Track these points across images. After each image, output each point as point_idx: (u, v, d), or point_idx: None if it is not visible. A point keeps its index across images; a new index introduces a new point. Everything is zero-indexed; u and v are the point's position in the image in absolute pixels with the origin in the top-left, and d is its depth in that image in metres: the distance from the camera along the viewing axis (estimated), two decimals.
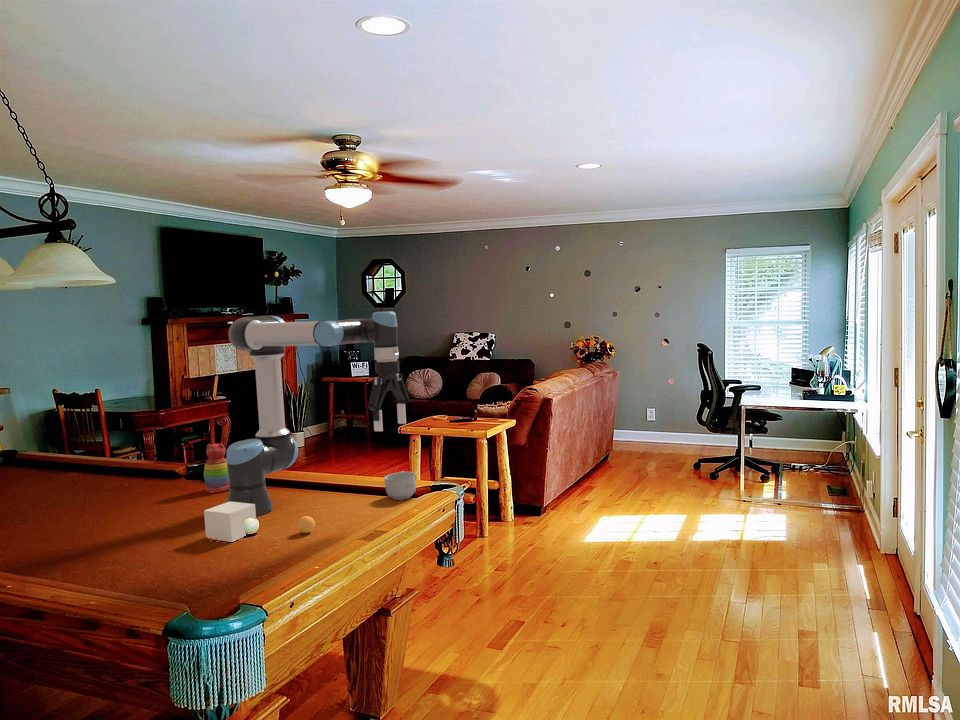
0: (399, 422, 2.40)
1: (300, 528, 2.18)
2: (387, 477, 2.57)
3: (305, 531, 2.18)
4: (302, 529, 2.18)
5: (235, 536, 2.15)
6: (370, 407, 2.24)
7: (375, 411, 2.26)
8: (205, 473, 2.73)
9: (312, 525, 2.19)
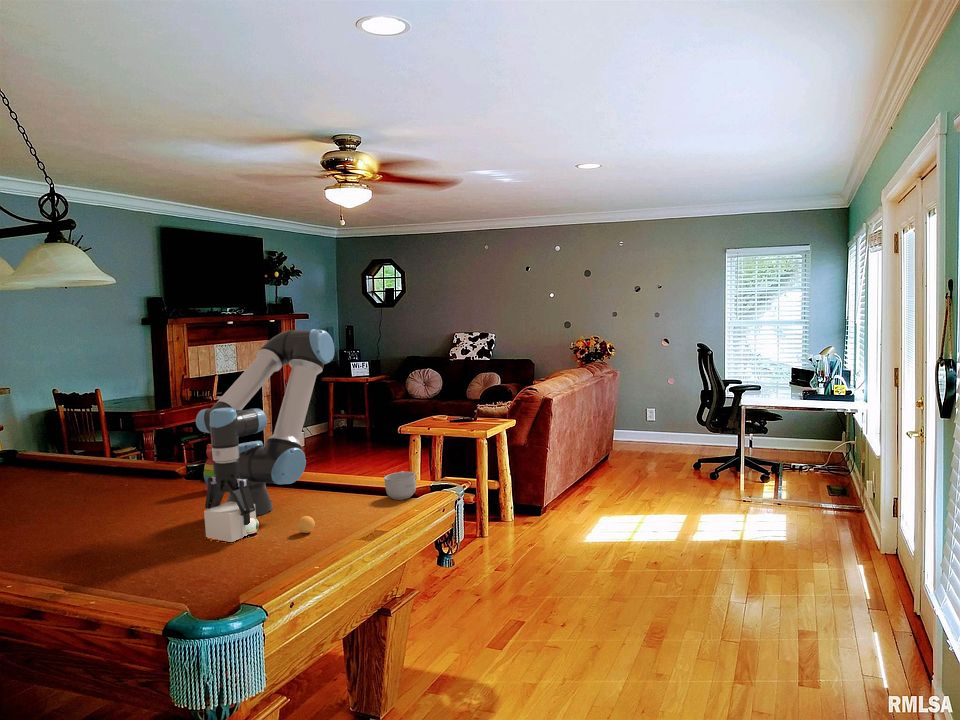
0: None
1: (300, 528, 2.18)
2: (387, 477, 2.57)
3: (305, 531, 2.18)
4: (302, 529, 2.18)
5: (235, 536, 2.15)
6: None
7: None
8: (205, 473, 2.73)
9: (312, 525, 2.19)
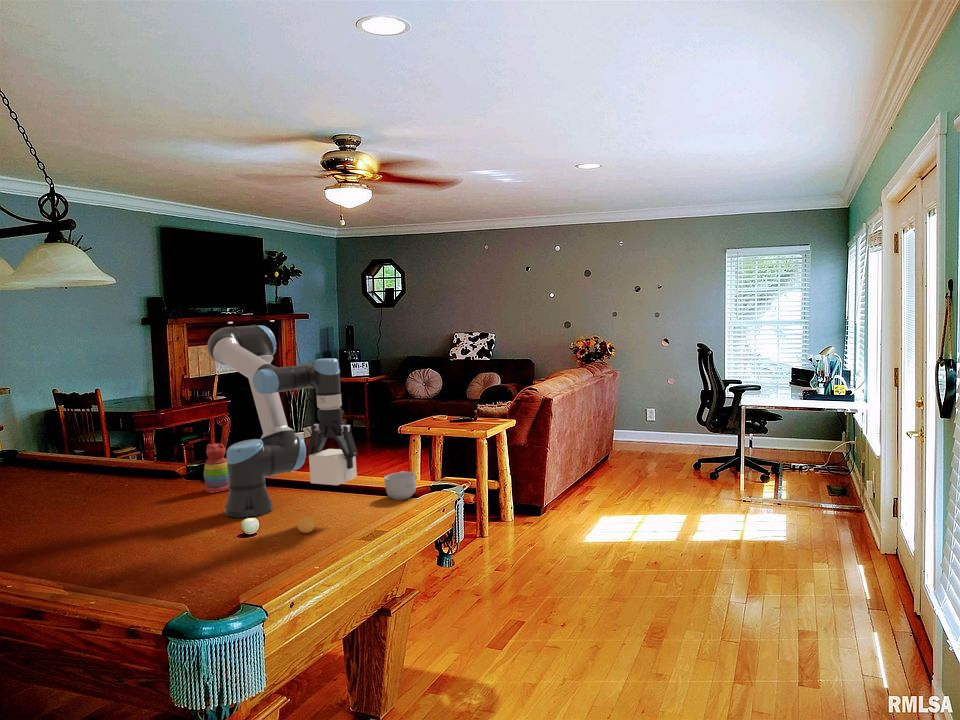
0: None
1: (300, 528, 2.18)
2: (387, 477, 2.57)
3: (305, 531, 2.18)
4: (302, 529, 2.18)
5: (339, 479, 2.26)
6: None
7: None
8: (205, 473, 2.73)
9: (312, 525, 2.19)
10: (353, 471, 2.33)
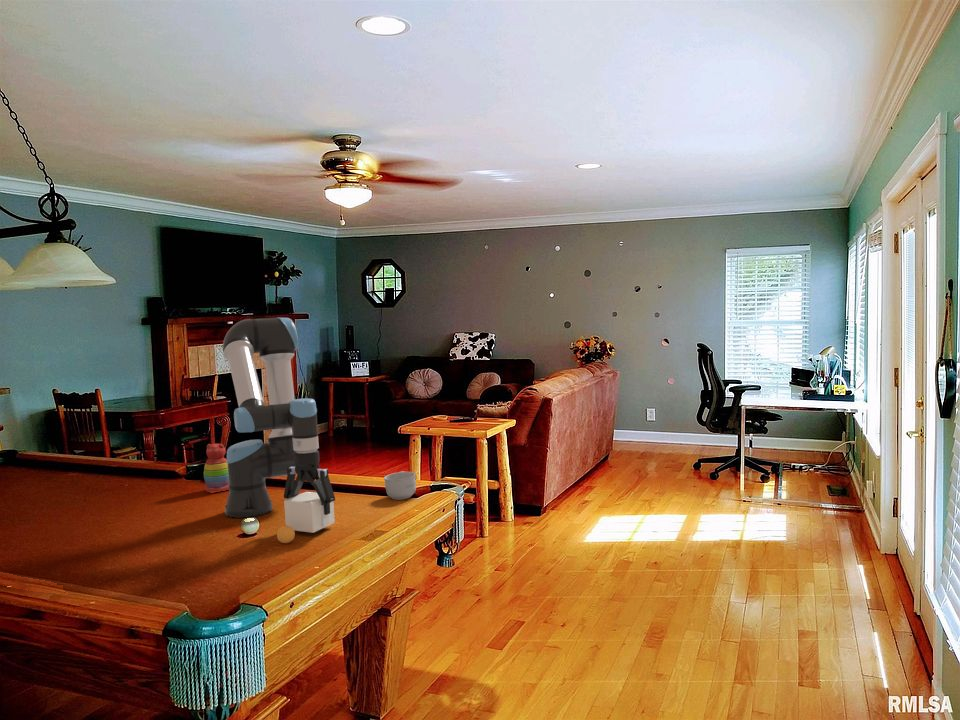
0: None
1: None
2: (387, 477, 2.57)
3: (289, 526, 2.11)
4: None
5: (316, 525, 2.16)
6: None
7: None
8: (205, 473, 2.73)
9: (293, 534, 2.11)
10: (331, 516, 2.23)
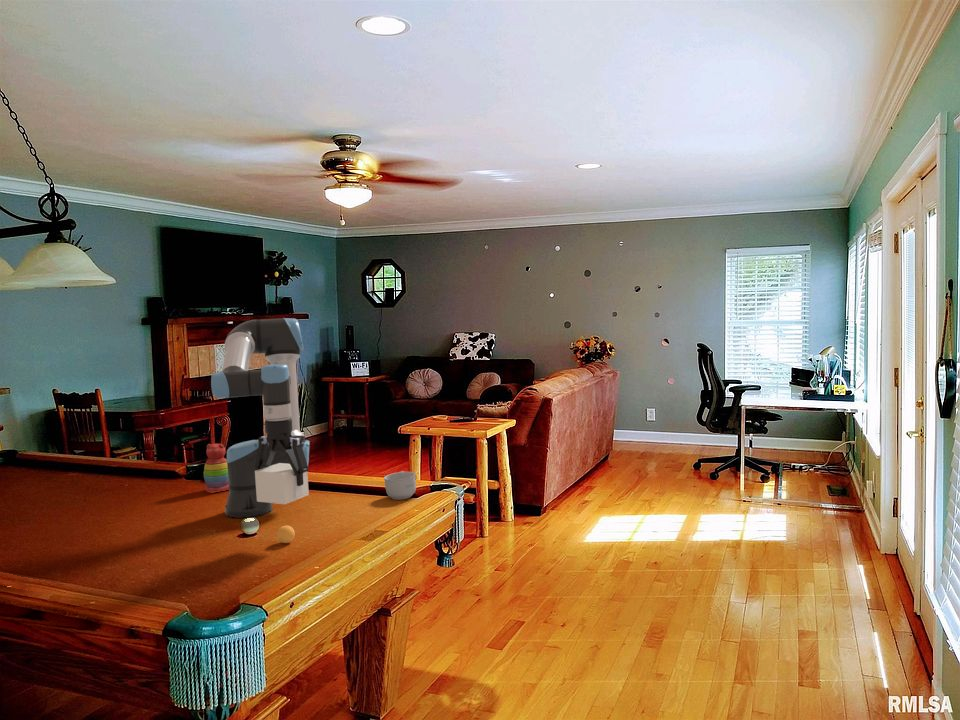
0: None
1: None
2: (387, 477, 2.57)
3: (289, 526, 2.11)
4: None
5: (288, 497, 2.05)
6: None
7: None
8: (205, 473, 2.73)
9: (293, 534, 2.11)
10: (304, 488, 2.12)
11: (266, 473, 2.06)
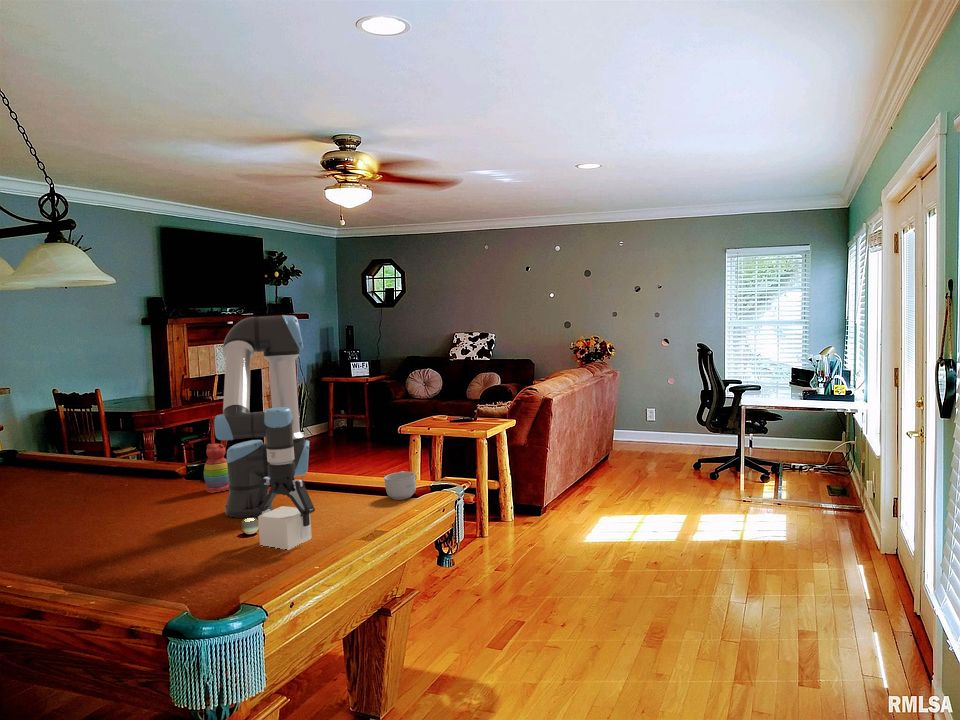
0: None
1: None
2: (387, 477, 2.57)
3: None
4: None
5: (291, 542, 2.06)
6: None
7: None
8: (205, 473, 2.73)
9: None
10: None
11: (269, 518, 2.07)
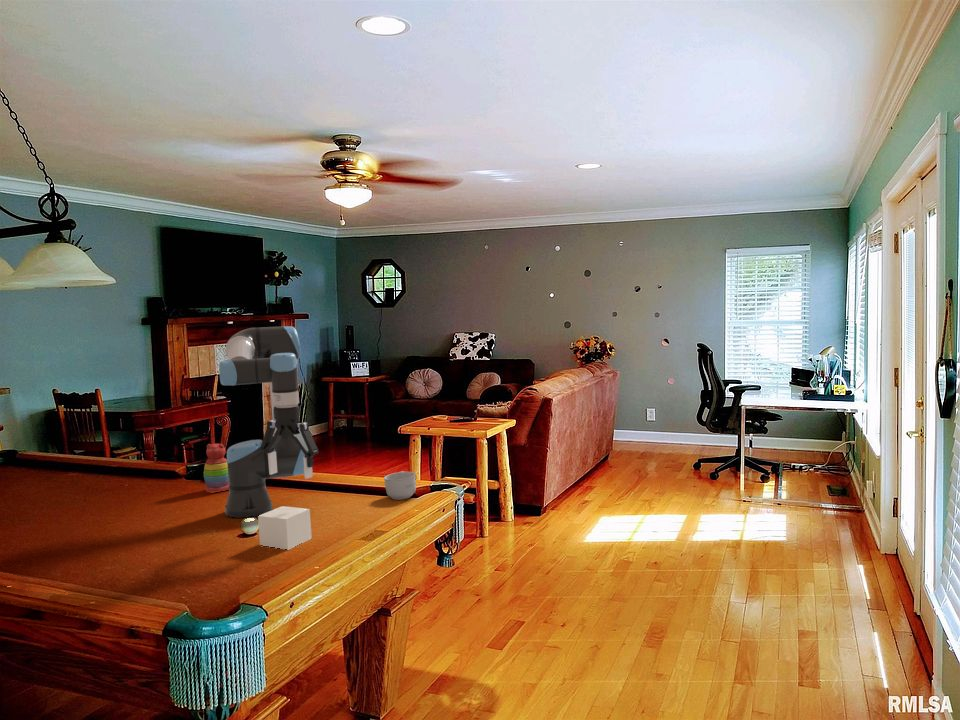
0: None
1: None
2: (387, 477, 2.57)
3: None
4: None
5: (291, 542, 2.06)
6: None
7: None
8: (205, 473, 2.73)
9: None
10: (307, 532, 2.13)
11: (269, 518, 2.07)
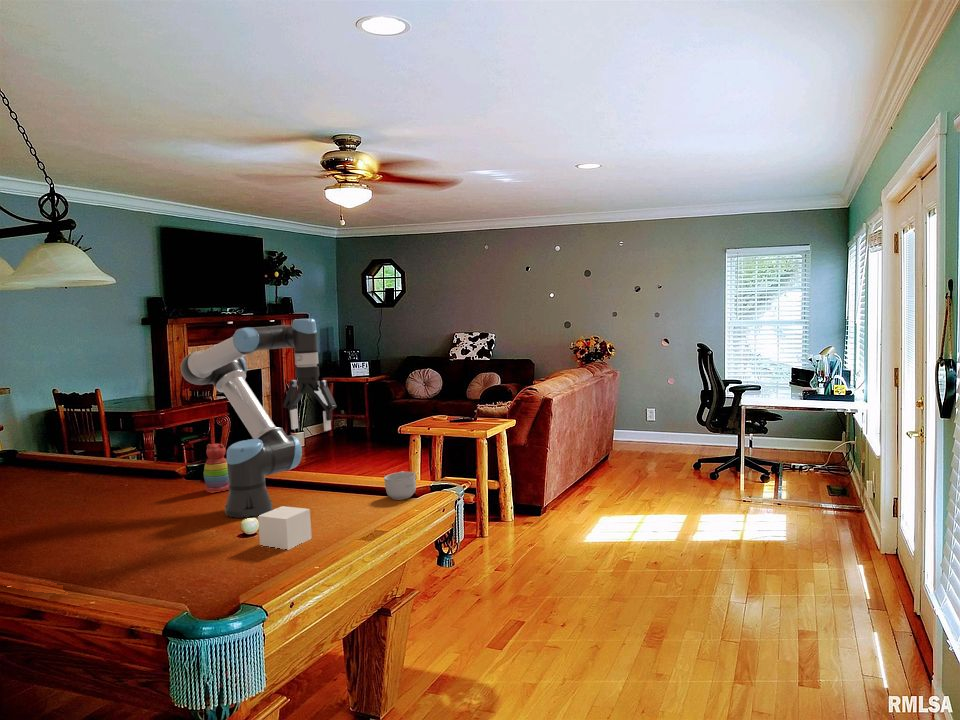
0: None
1: None
2: (387, 477, 2.57)
3: None
4: None
5: (291, 542, 2.06)
6: None
7: None
8: (205, 473, 2.73)
9: None
10: (307, 532, 2.13)
11: (269, 518, 2.07)
